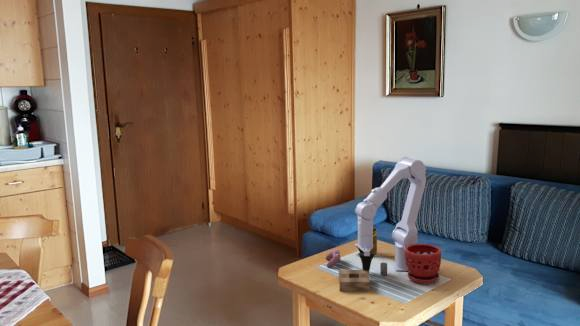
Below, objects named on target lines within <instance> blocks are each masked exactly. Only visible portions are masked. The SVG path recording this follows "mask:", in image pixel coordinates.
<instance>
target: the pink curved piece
mask: <svg viewBox="0 0 580 326" xmlns="http://www.w3.org/2000/svg"><path fill="white" fill-rule="evenodd" d="M341 257H342V256H341V251H340V249H338V248H334V249H332V250H331V251H330V252H329V253H327V254H326V256H325V260H327V261H328V262H327V263H326V267H327V268H328V267H329V268H328V269H330V268H333V267H335V266H336V265H337V264H339V262H341V261H342V259H341Z"/></svg>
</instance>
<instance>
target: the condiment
mask: <svg viewBox="0 0 580 326" xmlns="http://www.w3.org/2000/svg"><path fill="white" fill-rule="evenodd" d="M370 254H374V257H377V256H378V255H381V252H378V234H377V227H376V226H374V225H373V248H372V249H371V251H370ZM355 255H356V256H358V257H359V253H356V254H355ZM374 257H373V258H374Z"/></svg>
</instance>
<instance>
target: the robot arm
mask: <svg viewBox="0 0 580 326" xmlns="http://www.w3.org/2000/svg"><path fill="white" fill-rule="evenodd" d="M426 170H427V167H426V165H425V163H424V162H423V161H422V160H418V159H414V158H410V157H406V156H405V157H402V158H400V159H399V160H398V162H397V163H396V164H395V166H394V168H393V170H392V171H391V173H390V174H389V175H388V177H386V178H385V180H384V182H383V183H382V184H381V185H380V186H379V187H374V188H373V189H371V191H370V193H369V194H368V196H367V197H366V198H364V199H363V201H361V202H359V203H358V204H357V205H356V207H355V209H354V213H355V214H356V215H355V216H357V243H355V244H354V247H355V248H357V250H358V251H359V253H358V254H359V256H358V257H359V258H360V261H361V265H362V266H363V270H364V271H366V270H368V271H369V272H370V269H371V264H372V262H373V259H374V254H370V251H371V249H372V248H373V226H374V217H376V214H377V210H378V208H380V206H381V205H382V204H383V203H384V202H385V200H387V198H388V193H389V192H390V191H391V189H393V188H394V187H395V186H396V185H397V184H398V182H400V181H401V180H403V179H408V181H409V182H410V186H409V188H408V189H409V190H408V193H407V197H406V201H405V205H404V207H403V212H402V217H401V219H400V221H399V222H397V223H396V225H395V228H394V229H393V231H392V232H391V237H392V240H393V241H394V245H395V247H394V248H395V250H394V252H395V253H394V255H395V256H394V260H395V261H394V262H392V265H393V267H394V269H395V271H396V272H403V271H404V272H409V271H408V268H407V265H406V261H405V248H406V247H407V246H410V245H415V244H418V240H419V239H418V238H419V237H418V233H419V231H418V229H417V227H416V221H417V217H418V215H419V211H420V208H421V202H422V198H423V194H424V191H425V187H426V183H427V179H426V177H427V176H426V172H427V171H426ZM412 253H413V252H412ZM419 253H420V252H419V251H418V252H417V254H419ZM409 261H410V259H409ZM362 266H361V267H362Z"/></svg>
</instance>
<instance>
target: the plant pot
mask: <svg viewBox="0 0 580 326" xmlns="http://www.w3.org/2000/svg"><path fill="white" fill-rule="evenodd" d="M418 251H419V252H420V253H419V254H417V252H418ZM412 252H413V253H412ZM409 259H410V261H409ZM405 261H406V265H407V268H408V271H407V277H408V278H409V279H410V281H413V282H414V283H417V284H418V283H419V284H433V283H435V282H437V281H438V280H439V279H440V273H439V270H440V268H441V262H442V250H441V248H440V247H438V246H436V245H432V244H426V243H417V244H415V245H410V246H407V247H406V248H405Z"/></svg>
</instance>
